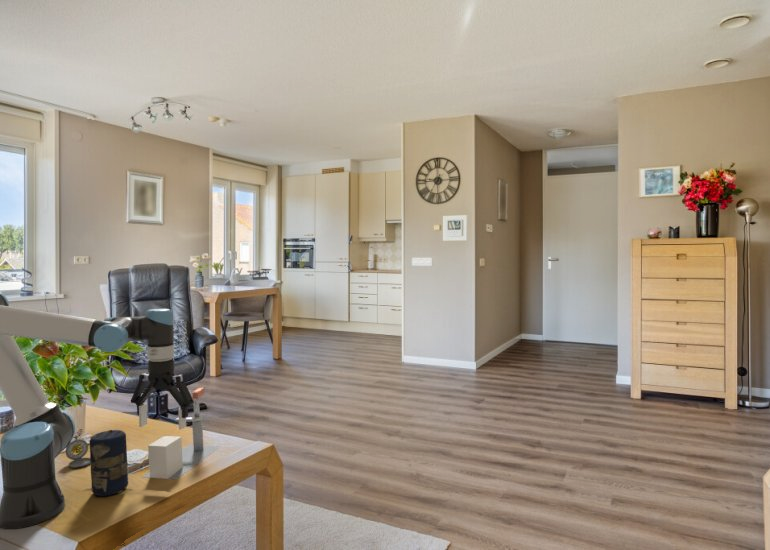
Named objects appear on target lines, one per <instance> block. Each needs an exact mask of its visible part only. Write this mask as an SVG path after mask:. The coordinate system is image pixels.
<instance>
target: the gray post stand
mask: <svg viewBox="0 0 770 550" xmlns="http://www.w3.org/2000/svg"><path fill="white" fill-rule="evenodd" d="M191 422H192V424H191V425H192V442H193V444H188V445H187V446H185V447H184V448H182V461H183V468H181V469H180V470H179V471H177V472H176V473H175V474H173V475H172V476H171V477H169V478H168V479H167V480H178V479H180V477H182V476H184V474H186V473H188V471H190V470H191V469H192V468H194V467H196V465H198V464H199V463H201V462H202V461H203V460H204V459H205V458H207V457H209V456H210V455H211V454H212V453H214V452H215V451H217V450H218V449H219V448H221V446H220V445H206V444H205V445H204V434H203V433H204V432H203V429H204V428H203V419H202V420H201V421H199V422H193V421H191ZM141 478H147V479H151V478H150V471H148V472H146V473H145V474H144V475H141ZM161 479H162V480H164V479H163V478H160V480H161Z"/></svg>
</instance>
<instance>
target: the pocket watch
mask: <svg viewBox="0 0 770 550" xmlns="http://www.w3.org/2000/svg"><path fill="white" fill-rule="evenodd" d="M75 434H78V435H74V437H73V439H74V440H71V442H70V444H69V445H68V446H67V447H66V448H65V456H66V457H67V458H68V459H69V460H72V461H70V462H69V463H68V468H72V469H73V468H76V469H77V468H82V467H86V466H88V465H90V457H85V456H86V454H87V453H88V451H89V445H88V442H86V441H85V440H84V439H79V438H80V436H81V433H80V432H77V431H75Z"/></svg>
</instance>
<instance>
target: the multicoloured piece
mask: <svg viewBox="0 0 770 550" xmlns="http://www.w3.org/2000/svg"><path fill="white" fill-rule="evenodd" d="M191 395H192V399H193V401H194V404H193V416H192V417H191V416H190V417H189V416H188V417H186V423H187V422H189V423H191V422H192V421H193V422H199V421H201V420H202V421H203V415H200V414H201V413H200V398H201V397H202V396H203V395H205V387H198V388H197V389H195V390H194V391H192V394H191ZM174 420H175V421H174V422H175V423H179V417H177V418H175V419H174Z"/></svg>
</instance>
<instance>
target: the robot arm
mask: <svg viewBox="0 0 770 550" xmlns="http://www.w3.org/2000/svg"><path fill="white" fill-rule="evenodd" d="M145 312H146V314H145V315H143V316H114V317H105V318H104V319H103V320H101V319H94V318H88V317H82V316H77V315H76V316H75V315H69V314H62V313H55V312H47V311H41V310H35V309H28V308H21V307H15V306H11V305H10V303H9V300H8V298H7V297H6V294H4V293H3V292H2V291H0V392H1V393H2V394H3V396H4V399H5V401H7V404H8V405H9V407H10V408H11V411H12V412H13V414H14V415H15V420H14V422H13V424H12V426H13V427H12V428H10V429H8V431H6V432H5V433H4V434H3V435H2V436H1V438H0V464H1V478H2V479H1V480H2V490H3V491H2V495H1V499H0V528H2V529H22V528H25V527H30V526H35V525H36V524H40V523H43V522H45V521H47V520H49V519H52V518H54V517H55V516H57V515H59V514H60V513H61V512H62V511H63V510H64V509H65V507H66V506H65V505H66V503H65V501H66V500H65V496H64V494H63V493H62V490H61V487H60V485H59V484H58V481H57V480H56V479H57V478H56V477H57V476H56V464H55V461H56V460H55V459H56V458H57V457H58V456H59V455H60V454H61V453H62V452H63V451H64V450H66V448H67V446H68V445H69V444H70V443H71V442H72V441H73V439H74V438H73V437H75V434H76V423H75V421H74V419H73V418H72V416H71V415H70V414H68V413H67V412H64V411H62V410H61V408H60V407H59V405H58V403H56V402H52V401H49V399H48V398H47V397H48V396H46V394H45V392H44V390H43V388H42V386H41V384H40V382H38V380H37V378H36V376H35V374H34V372H33V371H32V368H31V367H30V365H29V363H28V361H27V359H26V357H25V356H24V354H23V352H22V351H21V349H20V346H19V345H18V343H17V341H16V340H15V338H14V337H16V338H17V337H19V338H26V339H34V340H40V341H46V342H47V341H48V342H55V343H63V344H71V345H79V346H85V347H92V348H98V350H99V351H102V352H104V353H105V352H106V353H111V352H115V351H119V350H120V349H122V348H124V346H125V345H126V344H128V343H130V342H131V343H132V342H144V341H146V343H147V345H146V346H147V347H146V348H147V359H148V361H147V372H144V373H140V374H139V377H138V378H139V379H138V383H137V385H136V387H135V389H134V392H133V395H132V397H131V399H130V403H131V404H134V405H135V406H136V414H137V416H138V417H139V419H138V424H139V426H138V427H140V428H142V427H145V426H146V425H147V424H148V407H147V406H148V404H147V403H146V401H147V400H148V398H149V397H150V396H151V395H152V393H153V392H154V391H155V390H162V391H165V390H166V392H169V393H170V395H171V396H172V398H173V399H174V401H176V402H177V404H178V405H179V407H178V408H177V409H178V411H177V412H178V418H179V422H178V430H183V429H185V428H186V427H187V422H186V417H189V407H190V406H192V405H194V401H193V396H192V394H191V393H190V391H189V388H188V386H187V384H186V382H185V376H184V374H183V373H181V374H178V375H175V373H174V372H175V359H174V357H175V345H174V344H175V339H174V336H175V335H174V334H175V332H174V327H175V326H174V324H175V323H174V317H173V316H174V315H173V311H172V310H171V309H169V308H151V309H147V311H145ZM148 381H149V384H148V385H147V383H148ZM175 383H176V384H175ZM146 385H147V387H146ZM145 387H146V389H145ZM144 390H145V391H144Z"/></svg>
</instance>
